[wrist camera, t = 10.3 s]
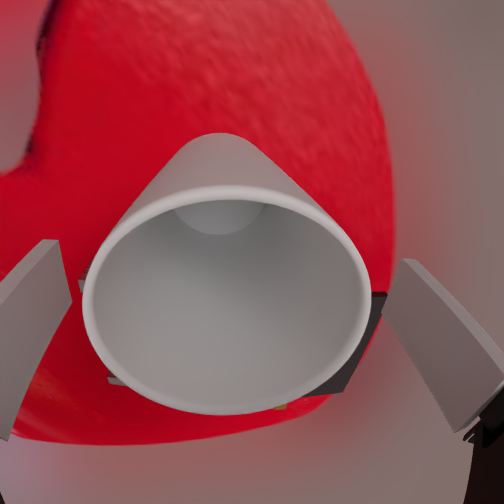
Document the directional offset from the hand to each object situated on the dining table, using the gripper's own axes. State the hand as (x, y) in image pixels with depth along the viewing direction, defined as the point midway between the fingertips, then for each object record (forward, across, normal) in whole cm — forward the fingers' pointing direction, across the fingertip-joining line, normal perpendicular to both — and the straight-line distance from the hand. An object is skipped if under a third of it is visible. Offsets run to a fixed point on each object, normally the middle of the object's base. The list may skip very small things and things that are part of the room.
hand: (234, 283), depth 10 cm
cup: (+13, -1, 0) cm, 13 cm away
